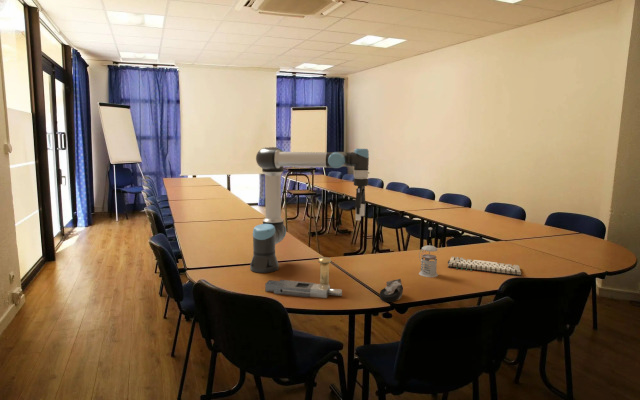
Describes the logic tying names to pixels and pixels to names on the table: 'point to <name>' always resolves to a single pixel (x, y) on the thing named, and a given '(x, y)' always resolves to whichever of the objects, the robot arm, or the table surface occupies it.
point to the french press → (428, 270)
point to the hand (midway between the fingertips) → (360, 218)
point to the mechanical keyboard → (484, 266)
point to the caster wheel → (392, 291)
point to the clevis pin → (324, 270)
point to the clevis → (301, 289)
